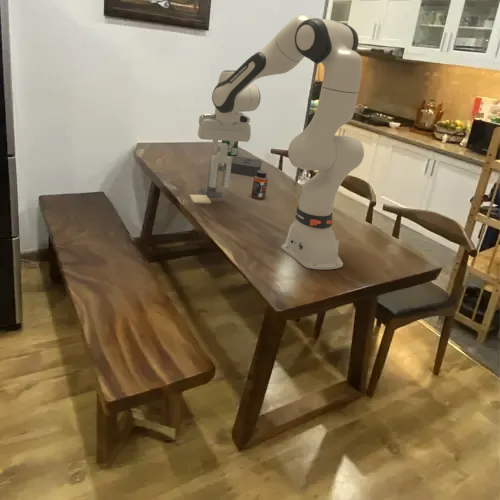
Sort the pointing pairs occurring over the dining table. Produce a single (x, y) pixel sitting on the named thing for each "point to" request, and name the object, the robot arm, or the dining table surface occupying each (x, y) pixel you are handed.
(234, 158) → the streaming box
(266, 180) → the supplement bottle
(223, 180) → the pale upright frame
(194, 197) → the felt pad
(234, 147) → the coffee jar
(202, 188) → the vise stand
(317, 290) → the dining table surface
